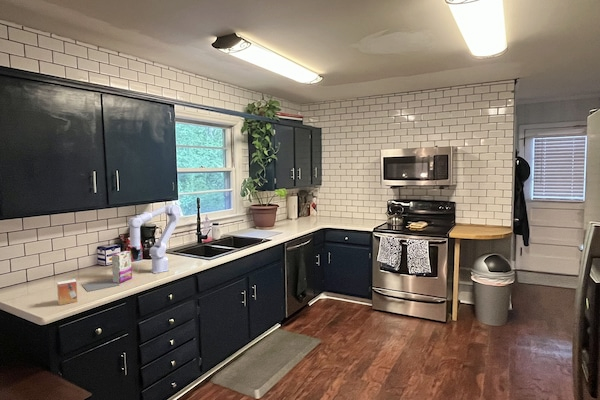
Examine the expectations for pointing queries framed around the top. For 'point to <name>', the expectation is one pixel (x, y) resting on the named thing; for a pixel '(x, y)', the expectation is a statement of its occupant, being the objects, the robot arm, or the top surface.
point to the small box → (67, 292)
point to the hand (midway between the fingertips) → (135, 259)
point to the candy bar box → (121, 266)
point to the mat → (99, 285)
